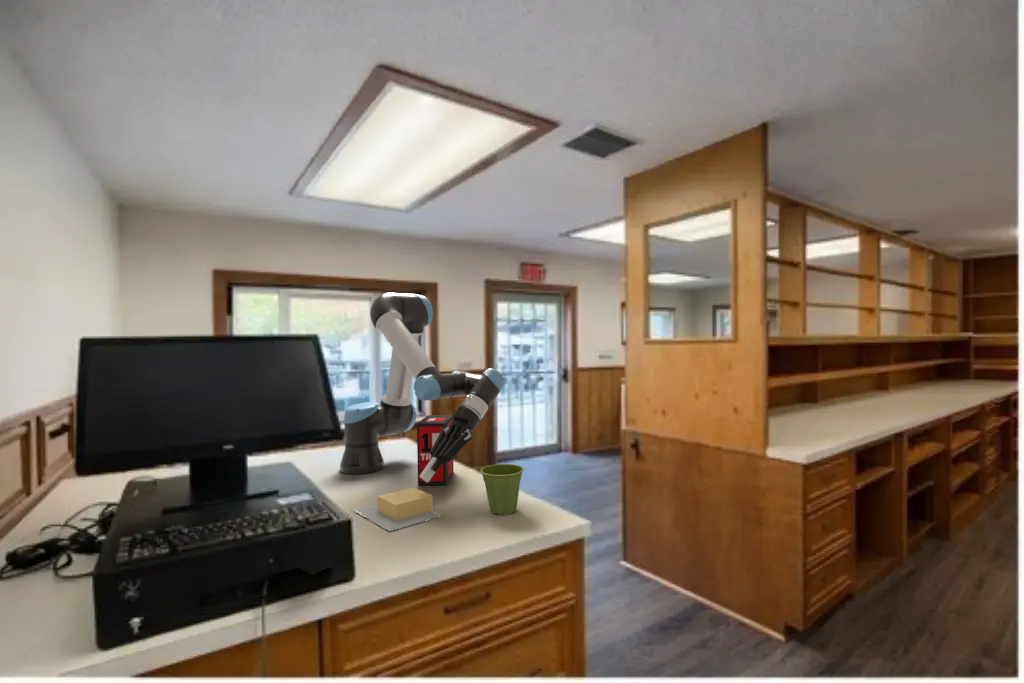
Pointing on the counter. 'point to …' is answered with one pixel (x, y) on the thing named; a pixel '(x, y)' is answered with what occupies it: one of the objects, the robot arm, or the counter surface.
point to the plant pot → (502, 487)
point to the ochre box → (405, 503)
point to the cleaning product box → (425, 440)
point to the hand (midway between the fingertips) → (423, 479)
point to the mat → (390, 523)
